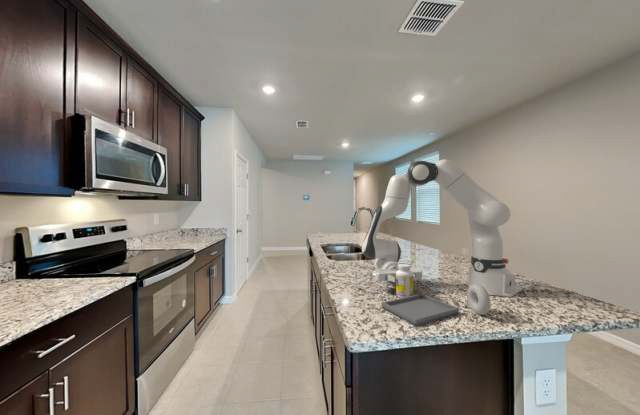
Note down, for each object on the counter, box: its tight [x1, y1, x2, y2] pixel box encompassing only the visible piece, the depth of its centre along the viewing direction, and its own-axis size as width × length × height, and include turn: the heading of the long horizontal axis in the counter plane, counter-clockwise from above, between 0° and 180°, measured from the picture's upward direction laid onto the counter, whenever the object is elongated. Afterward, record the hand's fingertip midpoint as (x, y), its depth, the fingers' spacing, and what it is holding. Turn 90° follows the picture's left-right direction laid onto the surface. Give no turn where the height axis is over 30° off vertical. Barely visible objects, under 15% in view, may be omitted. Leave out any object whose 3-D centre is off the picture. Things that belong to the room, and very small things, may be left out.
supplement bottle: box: [395, 263, 414, 298], centre depth 103 cm, size 7×7×13 cm
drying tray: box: [381, 293, 460, 327], centre depth 89 cm, size 20×16×2 cm
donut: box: [466, 284, 492, 316], centre depth 86 cm, size 10×4×10 cm, turn 179°
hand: (405, 279), depth 102 cm, fingers closed on supplement bottle, 7 cm apart
